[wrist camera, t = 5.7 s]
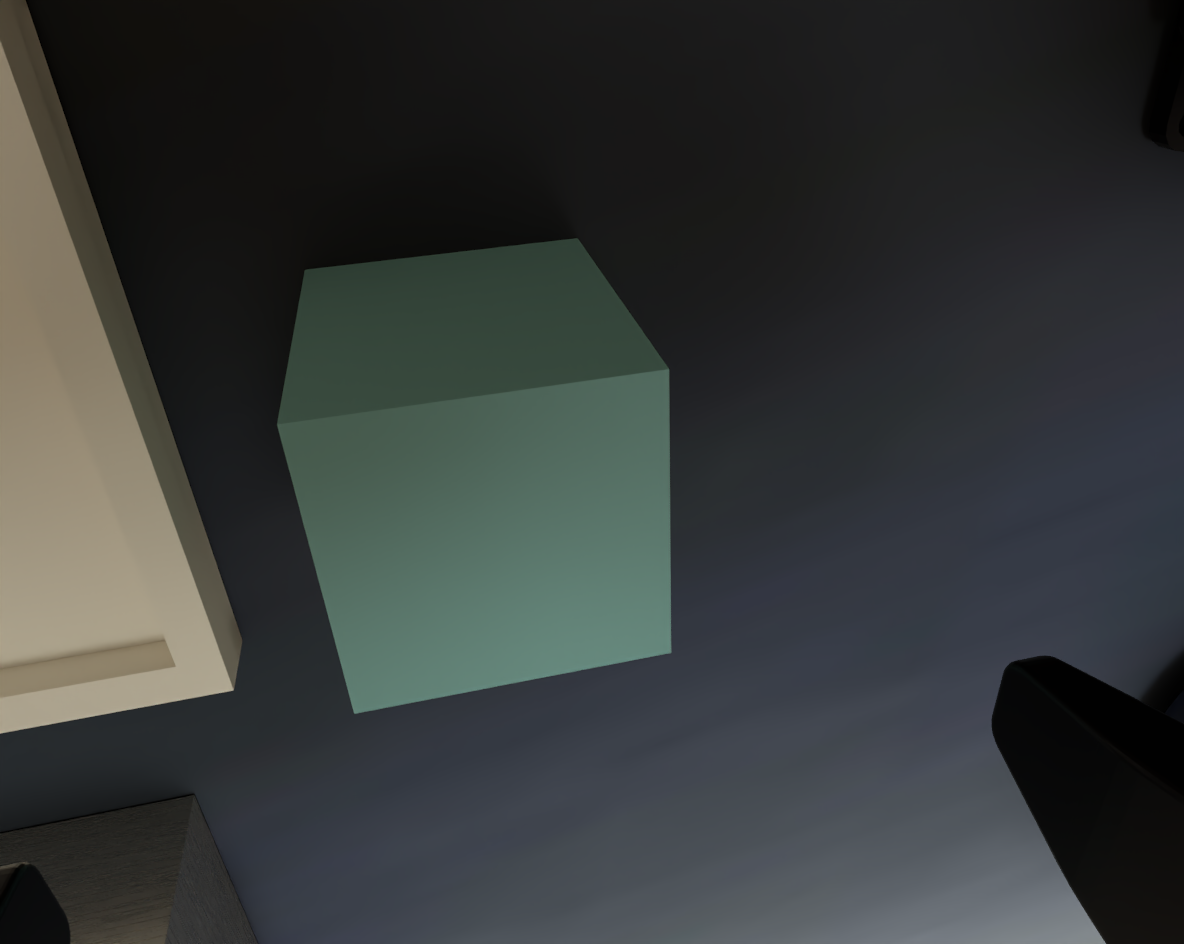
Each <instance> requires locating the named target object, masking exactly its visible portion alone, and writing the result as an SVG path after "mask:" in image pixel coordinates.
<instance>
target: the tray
mask: <svg viewBox="0 0 1184 944" xmlns="http://www.w3.org/2000/svg"><path fill="white" fill-rule="evenodd" d="M241 646H242V638H241V635H240V632H239V629H238V626H237V623H236V620H235V617H234V614H233V611H232V608H231V605H230V602H229V599H228V596H227V594H226V591H225V588H224V585H223V582H222V579H221V576H220V573H219V570H218V567H217V564H216V561H215V558H214V555H213V552H212V549H211V546H210V543H209V540H208V537H207V534H206V532H205V529H204V526H203V523H202V520H201V517H200V514H199V511H198V508H197V505H196V502H195V499H194V496H193V493H192V490H191V487H190V484H189V481H188V478H187V475H186V472H185V470H184V467H183V464H182V461H181V458H180V455H179V452H178V449H177V446H176V443H175V440H174V437H173V434H172V431H171V428H170V425H169V422H168V419H167V416H166V413H165V410H164V407H163V405H162V402H161V399H160V396H159V393H158V390H157V387H156V384H155V381H154V378H153V375H152V372H151V369H150V366H149V363H148V360H147V357H146V354H145V351H144V348H143V345H142V343H141V340H140V337H139V334H138V331H137V328H136V325H135V322H134V319H133V316H132V313H131V310H130V307H129V304H128V301H127V298H126V295H125V292H124V289H123V286H122V283H121V281H120V278H119V275H118V272H117V269H116V266H115V263H114V260H113V257H112V254H111V251H110V248H109V245H108V242H107V239H106V236H105V233H104V230H103V227H102V224H101V221H100V218H99V216H98V213H97V210H96V207H95V204H94V201H93V198H92V195H91V192H90V189H89V186H88V183H87V180H86V177H85V174H84V171H83V168H82V165H81V162H80V159H79V156H78V154H77V151H76V148H75V145H74V142H73V139H72V136H71V133H70V130H69V127H68V124H67V121H66V118H65V115H64V112H63V109H62V106H61V103H60V100H59V97H58V94H57V92H56V89H55V86H54V83H53V80H52V77H51V74H50V71H49V68H48V65H47V62H46V59H45V56H44V53H43V50H42V47H41V44H40V41H39V38H38V35H37V32H36V30H35V27H34V24H33V21H32V18H31V15H30V12H29V9H28V6H27V3H26V0H0V733H5V732H10V731H16V730H21V729H27V728H32V727H38V726H43V725H48V724H54V723H59V722H65V721H70V720H76V719H81V718H86V717H92V716H97V715H103V714H108V713H114V712H119V711H125V710H130V709H135V708H141V707H146V706H152V705H157V704H163V703H168V702H173V701H179V700H184V699H190V698H195V697H201V696H206V695H211V694H217V693H222V692H228V691H233V690H234V686H235V680H236V675H237V669H238V663H239V657H240V652H241Z"/></svg>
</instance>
